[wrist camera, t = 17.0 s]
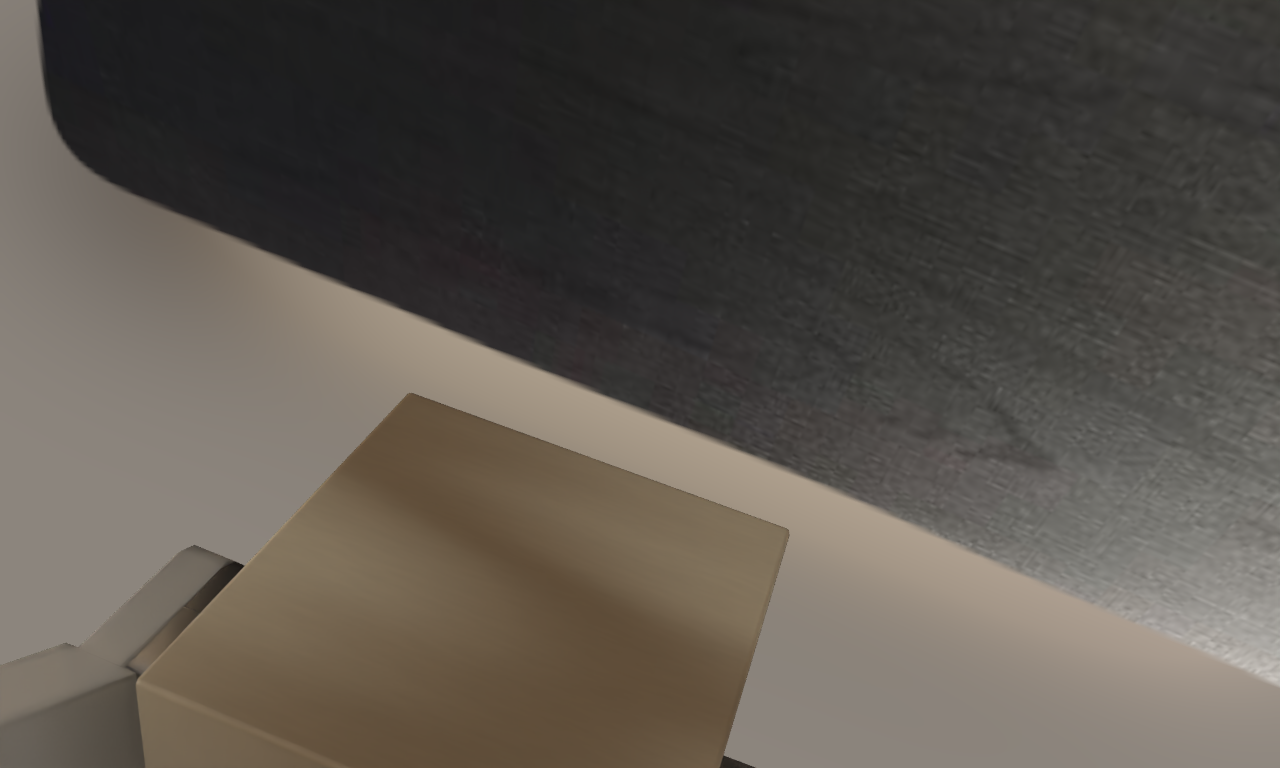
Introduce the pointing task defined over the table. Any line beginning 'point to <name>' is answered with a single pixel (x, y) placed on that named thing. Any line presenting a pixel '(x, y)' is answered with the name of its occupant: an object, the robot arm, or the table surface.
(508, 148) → the table surface
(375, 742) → the block
